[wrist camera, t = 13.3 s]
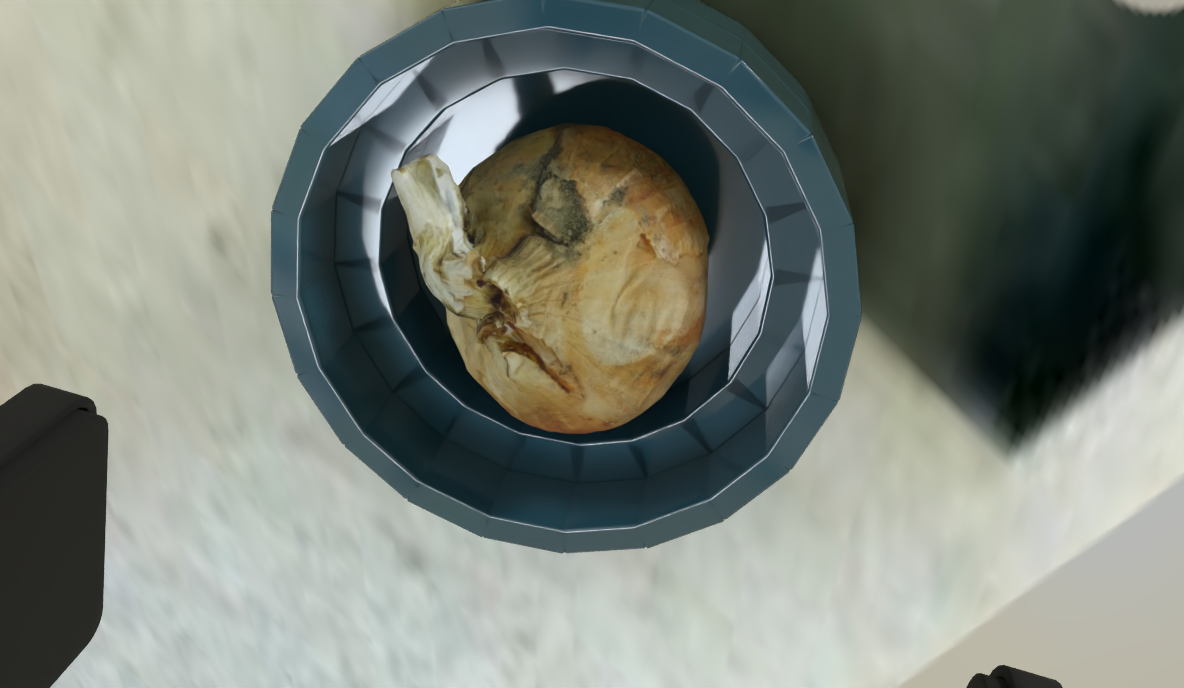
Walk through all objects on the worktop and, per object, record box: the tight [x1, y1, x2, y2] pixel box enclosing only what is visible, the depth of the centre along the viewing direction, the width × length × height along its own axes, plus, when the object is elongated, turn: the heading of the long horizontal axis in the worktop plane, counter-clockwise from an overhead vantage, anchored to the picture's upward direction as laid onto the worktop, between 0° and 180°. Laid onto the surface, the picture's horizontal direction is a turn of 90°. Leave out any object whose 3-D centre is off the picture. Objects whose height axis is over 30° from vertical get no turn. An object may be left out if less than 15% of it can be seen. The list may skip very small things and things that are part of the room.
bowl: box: [271, 0, 862, 553], centre depth 29 cm, size 15×15×6 cm
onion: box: [390, 123, 710, 434], centre depth 27 cm, size 8×8×8 cm
